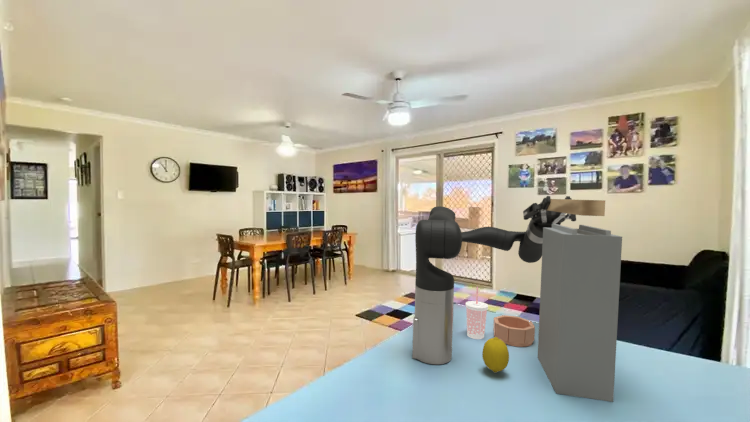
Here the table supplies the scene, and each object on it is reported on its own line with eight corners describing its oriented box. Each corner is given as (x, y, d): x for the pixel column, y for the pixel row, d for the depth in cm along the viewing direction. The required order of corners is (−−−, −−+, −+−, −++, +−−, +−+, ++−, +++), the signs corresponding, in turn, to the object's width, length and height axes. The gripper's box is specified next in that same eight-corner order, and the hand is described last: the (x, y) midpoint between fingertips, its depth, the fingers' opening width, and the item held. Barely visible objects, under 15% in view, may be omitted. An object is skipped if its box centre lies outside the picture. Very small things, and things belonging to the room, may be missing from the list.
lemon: (510, 380, 69) (512, 344, 69) (483, 377, 71) (484, 341, 70) (505, 367, 75) (506, 333, 74) (480, 364, 76) (481, 331, 76)
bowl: (496, 344, 87) (496, 327, 87) (491, 329, 96) (492, 314, 96) (537, 349, 84) (537, 331, 84) (528, 333, 94) (529, 317, 94)
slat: (580, 215, 63) (581, 199, 63) (544, 209, 88) (545, 198, 88) (604, 216, 62) (605, 200, 62) (561, 210, 87) (561, 199, 87)
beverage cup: (480, 330, 95) (482, 283, 95) (491, 340, 89) (493, 289, 89) (460, 331, 94) (462, 283, 94) (469, 341, 88) (471, 290, 88)
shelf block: (556, 393, 65) (563, 229, 64) (537, 357, 80) (543, 223, 78) (613, 401, 63) (622, 231, 61) (583, 363, 77) (590, 224, 76)
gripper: (516, 215, 101) (527, 186, 87) (567, 216, 98) (588, 186, 83) (517, 237, 98) (529, 211, 83) (570, 239, 95) (592, 213, 80)
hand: (558, 199), depth 83 cm, fingers closed on slat, 4 cm apart
